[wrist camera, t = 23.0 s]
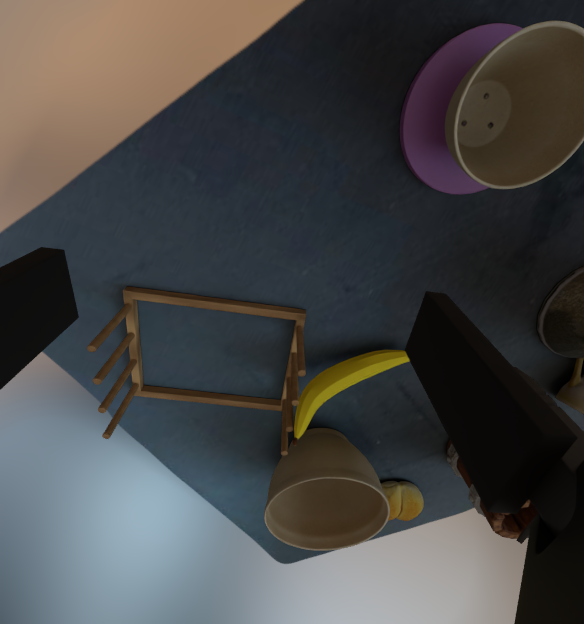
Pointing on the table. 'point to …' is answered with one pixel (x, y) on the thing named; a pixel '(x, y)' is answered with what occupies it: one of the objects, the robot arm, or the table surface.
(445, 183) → the lid
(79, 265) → the table surface
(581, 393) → the mug
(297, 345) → the rack
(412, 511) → the bread roll
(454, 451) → the mug
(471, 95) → the flower pot
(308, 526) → the planter bowl
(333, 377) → the banana
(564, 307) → the lantern
